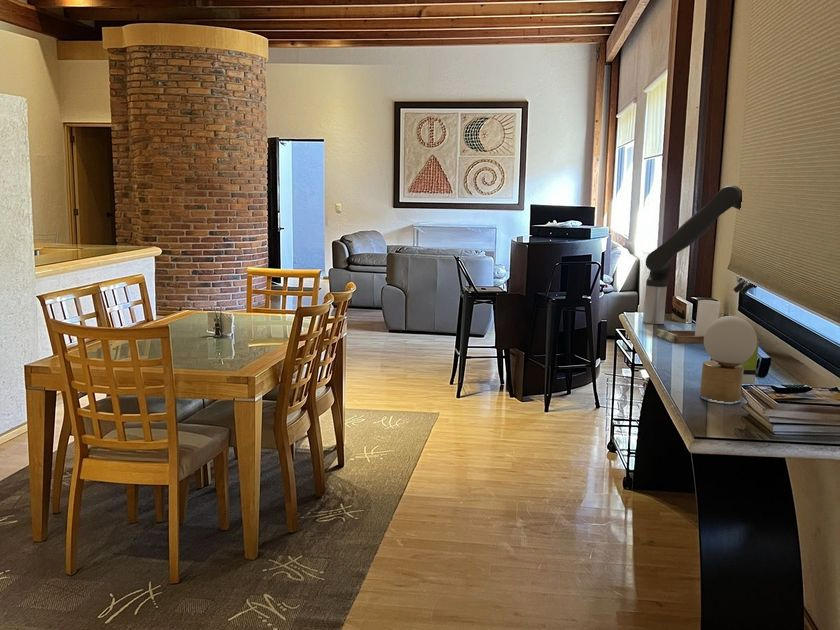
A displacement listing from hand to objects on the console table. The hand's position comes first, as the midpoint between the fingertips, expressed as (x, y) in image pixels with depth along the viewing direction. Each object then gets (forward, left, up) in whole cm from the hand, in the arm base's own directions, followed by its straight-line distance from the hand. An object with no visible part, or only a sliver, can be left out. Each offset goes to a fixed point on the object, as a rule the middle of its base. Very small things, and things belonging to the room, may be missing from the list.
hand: (738, 291), depth 329 cm
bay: (0, -19, -20) cm, 28 cm away
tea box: (+69, -44, -20) cm, 84 cm away
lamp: (+94, -62, -20) cm, 114 cm away
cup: (0, -13, -20) cm, 24 cm away
